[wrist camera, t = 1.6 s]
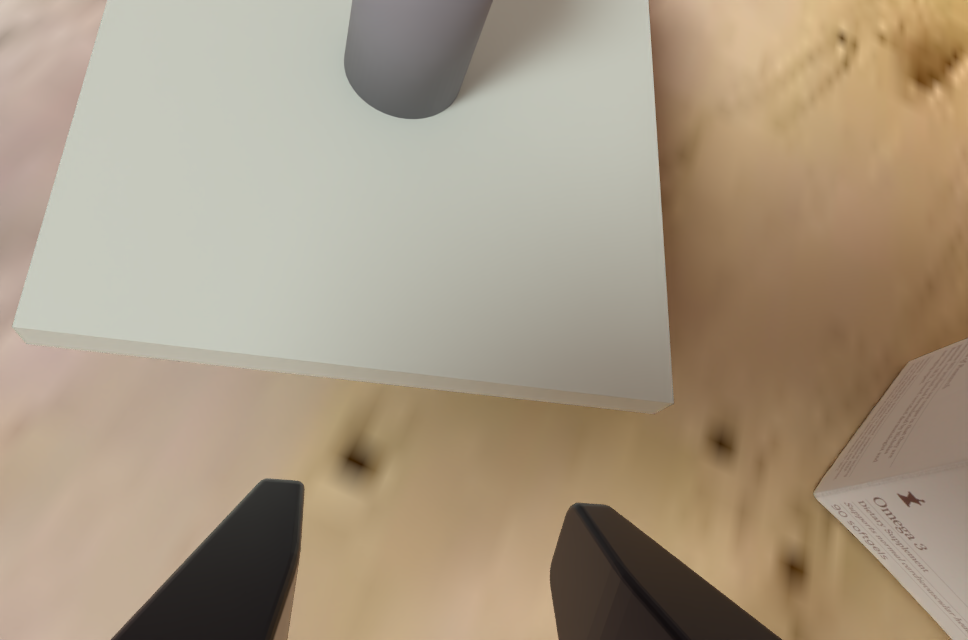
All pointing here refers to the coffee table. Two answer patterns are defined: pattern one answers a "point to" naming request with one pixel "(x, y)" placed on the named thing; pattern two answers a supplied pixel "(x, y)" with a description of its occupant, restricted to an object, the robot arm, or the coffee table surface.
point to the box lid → (367, 196)
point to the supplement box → (913, 484)
